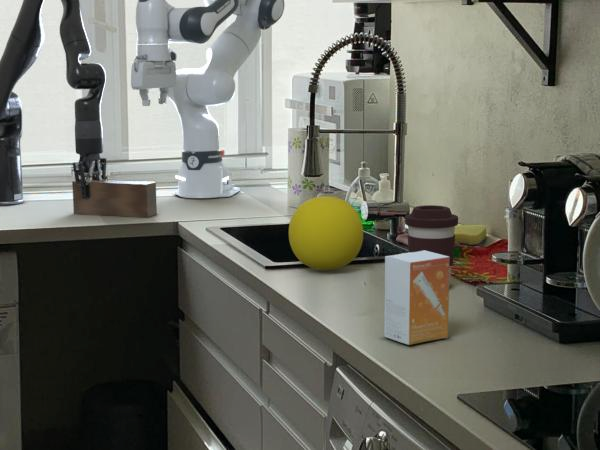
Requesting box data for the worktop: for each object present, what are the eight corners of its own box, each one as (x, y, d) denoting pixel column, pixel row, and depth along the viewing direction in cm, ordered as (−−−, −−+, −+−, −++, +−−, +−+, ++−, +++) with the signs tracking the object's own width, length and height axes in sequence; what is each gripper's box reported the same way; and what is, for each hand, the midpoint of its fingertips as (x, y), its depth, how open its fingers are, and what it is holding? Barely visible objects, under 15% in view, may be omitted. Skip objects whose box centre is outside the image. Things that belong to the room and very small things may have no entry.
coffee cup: (400, 280, 202) (400, 204, 200) (450, 279, 203) (451, 203, 201) (409, 292, 193) (410, 212, 190) (462, 291, 193) (463, 211, 191)
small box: (409, 346, 158) (409, 262, 156) (383, 337, 163) (383, 255, 161) (449, 337, 162) (450, 255, 160) (423, 329, 168) (424, 249, 166)
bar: (73, 213, 291) (72, 181, 290) (83, 210, 296) (82, 179, 294) (147, 217, 283) (146, 184, 282) (156, 214, 288) (155, 182, 286)
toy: (345, 259, 223) (344, 190, 221) (374, 273, 209) (374, 199, 207) (278, 265, 218) (278, 194, 216) (304, 279, 204) (304, 204, 202)
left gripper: (86, 138, 280) (89, 201, 283) (114, 134, 294) (116, 194, 297) (62, 138, 283) (65, 200, 286) (90, 133, 296) (93, 193, 299)
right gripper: (144, 55, 279) (146, 107, 282) (179, 54, 298) (181, 103, 301) (124, 55, 282) (126, 106, 284) (159, 54, 300) (161, 102, 303)
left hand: (91, 196), depth 291 cm, fingers closed on bar, 5 cm apart
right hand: (154, 105), depth 292 cm, fingers open, 8 cm apart
